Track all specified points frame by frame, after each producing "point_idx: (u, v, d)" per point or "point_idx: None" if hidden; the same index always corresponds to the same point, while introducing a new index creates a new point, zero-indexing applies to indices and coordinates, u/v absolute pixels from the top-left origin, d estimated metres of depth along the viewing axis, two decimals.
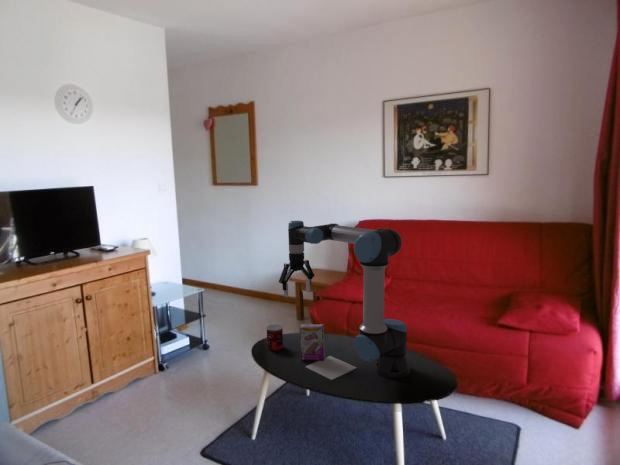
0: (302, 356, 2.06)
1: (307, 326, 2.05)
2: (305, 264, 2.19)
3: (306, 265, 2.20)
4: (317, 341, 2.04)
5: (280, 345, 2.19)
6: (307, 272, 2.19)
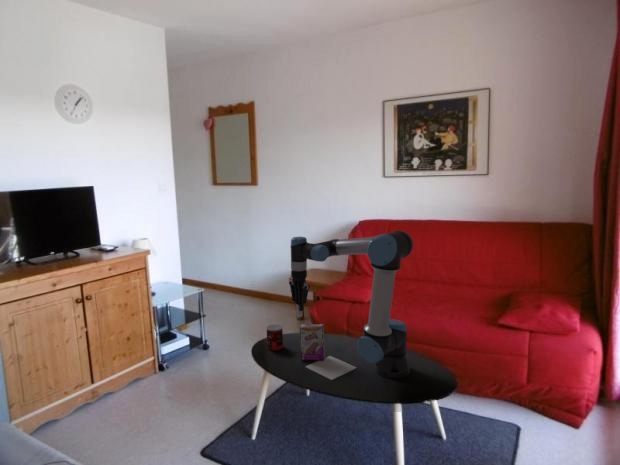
0: (302, 356, 2.06)
1: (307, 326, 2.05)
2: (304, 287, 2.06)
3: None
4: (317, 341, 2.04)
5: (280, 345, 2.19)
6: (299, 296, 2.08)
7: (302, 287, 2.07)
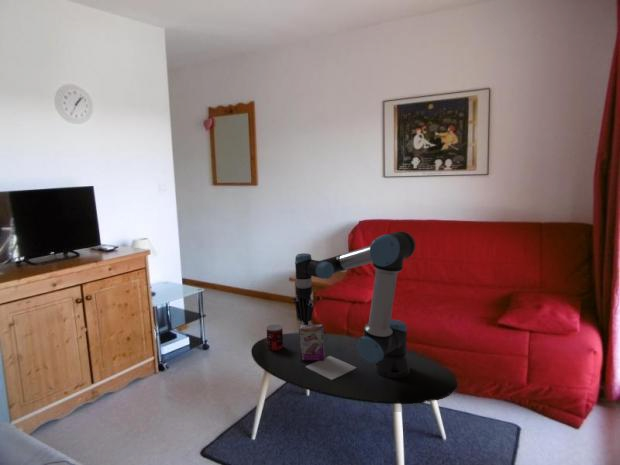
0: (302, 356, 2.06)
1: (306, 327, 2.04)
2: (309, 304, 2.05)
3: None
4: (316, 342, 2.04)
5: (280, 345, 2.19)
6: (304, 313, 2.07)
7: (307, 304, 2.06)
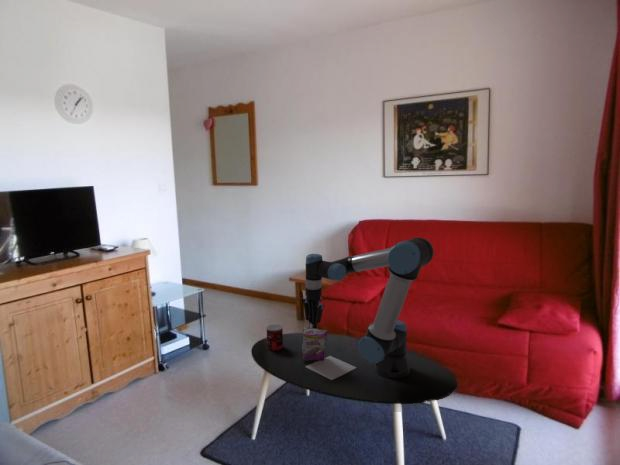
0: (302, 355, 2.05)
1: (310, 333, 1.98)
2: (318, 306, 2.00)
3: None
4: (319, 347, 2.00)
5: (280, 345, 2.19)
6: (313, 315, 2.02)
7: (316, 306, 2.01)
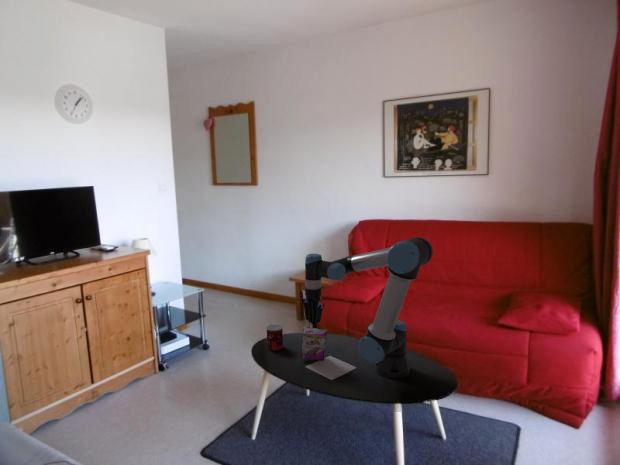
0: (302, 355, 2.05)
1: (310, 332, 1.98)
2: (318, 306, 2.00)
3: None
4: (319, 346, 2.00)
5: (280, 345, 2.19)
6: (313, 315, 2.02)
7: (316, 306, 2.01)
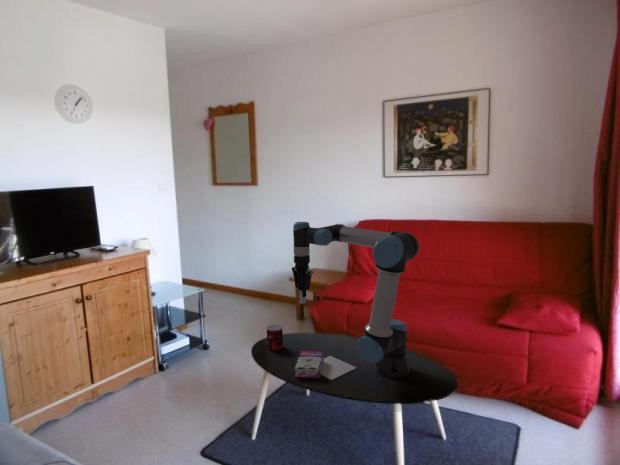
0: None
1: (302, 374, 1.90)
2: (307, 272, 2.03)
3: None
4: None
5: (280, 345, 2.19)
6: (302, 282, 2.05)
7: (305, 273, 2.04)
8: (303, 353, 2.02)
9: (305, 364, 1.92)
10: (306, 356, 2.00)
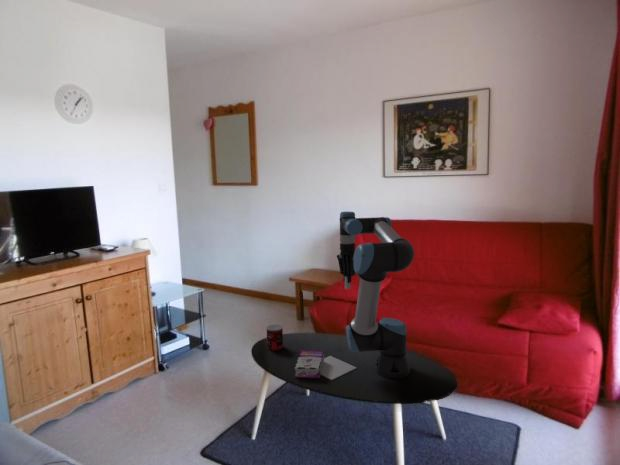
0: None
1: (302, 374, 1.90)
2: (352, 259, 2.16)
3: (353, 261, 2.16)
4: None
5: (280, 345, 2.19)
6: (348, 268, 2.17)
7: (351, 259, 2.17)
8: (303, 353, 2.02)
9: (305, 364, 1.92)
10: (306, 356, 1.99)
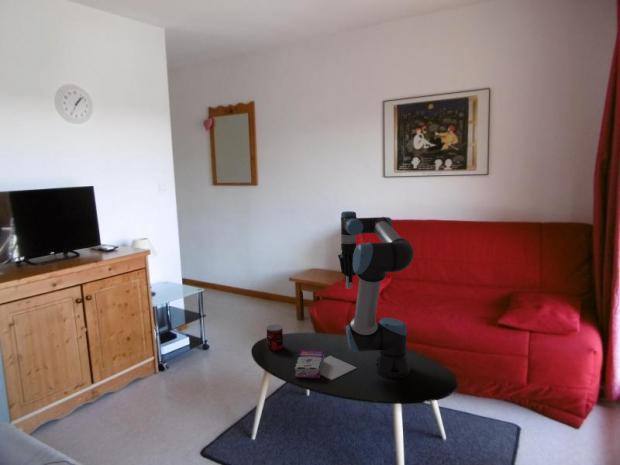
0: None
1: (302, 374, 1.90)
2: None
3: None
4: None
5: (280, 345, 2.19)
6: (349, 268, 2.18)
7: (352, 259, 2.17)
8: (303, 353, 2.02)
9: (305, 364, 1.92)
10: (306, 356, 1.99)
